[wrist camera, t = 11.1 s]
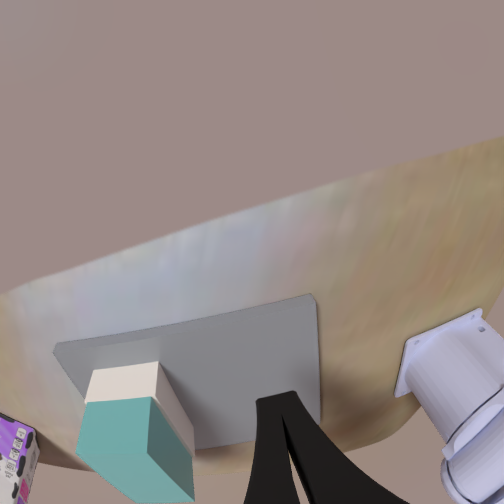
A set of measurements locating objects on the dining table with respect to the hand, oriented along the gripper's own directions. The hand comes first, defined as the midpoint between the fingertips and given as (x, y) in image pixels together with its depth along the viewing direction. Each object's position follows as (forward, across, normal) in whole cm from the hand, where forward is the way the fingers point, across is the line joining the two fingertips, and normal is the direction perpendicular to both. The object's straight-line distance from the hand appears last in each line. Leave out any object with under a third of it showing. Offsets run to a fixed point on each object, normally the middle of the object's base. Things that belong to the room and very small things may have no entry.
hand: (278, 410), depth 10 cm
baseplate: (+9, +5, +9) cm, 14 cm away
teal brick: (+5, +9, +8) cm, 13 cm away
